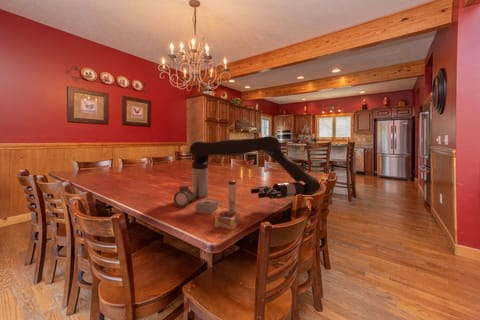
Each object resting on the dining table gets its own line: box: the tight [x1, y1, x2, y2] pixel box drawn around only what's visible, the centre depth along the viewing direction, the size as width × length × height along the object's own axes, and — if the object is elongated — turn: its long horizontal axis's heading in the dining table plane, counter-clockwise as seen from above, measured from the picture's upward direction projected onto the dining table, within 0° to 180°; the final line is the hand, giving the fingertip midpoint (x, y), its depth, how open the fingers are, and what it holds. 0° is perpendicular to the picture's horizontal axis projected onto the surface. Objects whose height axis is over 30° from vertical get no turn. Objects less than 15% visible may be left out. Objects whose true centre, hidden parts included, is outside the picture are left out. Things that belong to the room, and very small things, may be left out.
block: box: [194, 199, 219, 215], centre depth 104 cm, size 8×8×4 cm
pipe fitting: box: [173, 185, 195, 208], centre depth 115 cm, size 12×8×10 cm
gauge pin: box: [227, 180, 237, 212], centre depth 97 cm, size 3×3×16 cm
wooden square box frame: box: [214, 210, 241, 230], centre depth 87 cm, size 8×8×4 cm
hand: (254, 193), depth 101 cm, fingers open, 8 cm apart
